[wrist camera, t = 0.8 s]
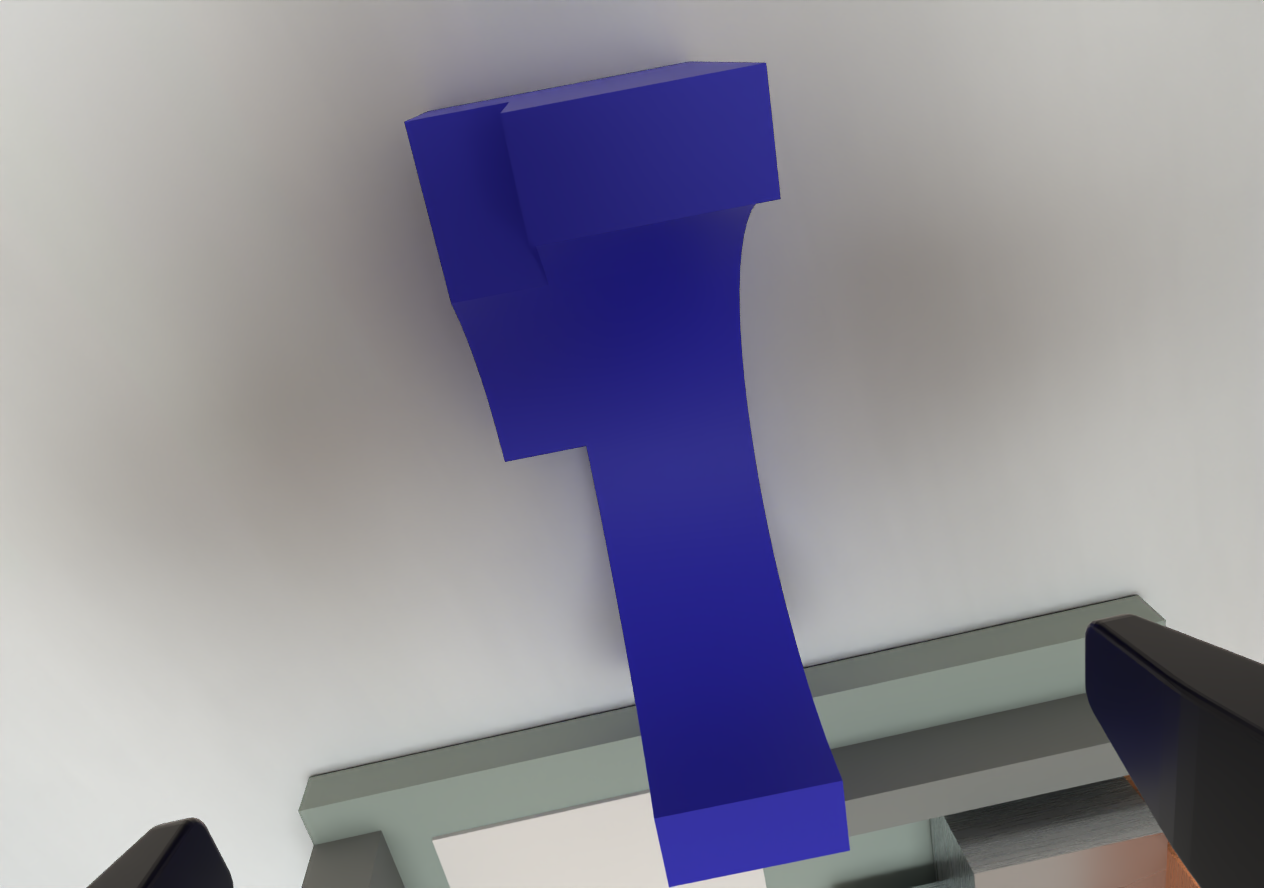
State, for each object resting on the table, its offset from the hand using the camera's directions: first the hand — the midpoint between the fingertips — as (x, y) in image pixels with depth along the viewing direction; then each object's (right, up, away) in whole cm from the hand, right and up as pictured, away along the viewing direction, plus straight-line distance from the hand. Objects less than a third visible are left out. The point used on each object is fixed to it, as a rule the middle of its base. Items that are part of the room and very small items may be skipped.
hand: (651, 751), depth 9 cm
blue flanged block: (0, +4, +9) cm, 10 cm away
